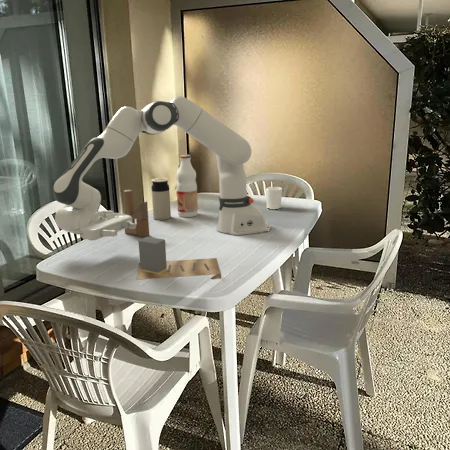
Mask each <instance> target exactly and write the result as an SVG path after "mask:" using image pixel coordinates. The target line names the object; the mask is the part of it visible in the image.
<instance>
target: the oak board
mask: <svg viewBox="0 0 450 450" xmlns="http://www.w3.org/2000/svg"><path fill="white" fill-rule="evenodd" d="M166 264H167V269H166V270H164V271H163V272H161V273H159V274H156V273H151V272H146V271H142V270H141V268H140V262H139V263H138V268H137V275H136V280H147V279H164V278H179V277H193V276H194V277H195V276H196V277H197V276H208V275H209V276H211V275H212V277H211V278H210V280H216V279H222V272H221V269H220V268H221V267H220V265H219V262H218V259H217V257H213V258H212V257H211V258H194V259H182V260H181V259H179V260H166Z"/></svg>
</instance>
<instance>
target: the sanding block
mask: <svg viewBox="0 0 450 450" xmlns="http://www.w3.org/2000/svg"><path fill="white" fill-rule="evenodd" d="M138 252H139V263H140V268H141V270H142V271H146V272H151V273H156V274H159V273H161V272H163V271H164V270H166V269H167V264H166V261H167V251H166V239H163V238H158V237H153V236H151V237H150V236H145V237H142V239H139V240H138Z"/></svg>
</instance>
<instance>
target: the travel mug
mask: <svg viewBox="0 0 450 450" xmlns="http://www.w3.org/2000/svg"><path fill="white" fill-rule="evenodd" d="M151 182H152V185H151V198H152V200H151V202H152V215H153V216H152V217H153V219H154V220H156V221H157V220H158V221H164V220H169V219H171V218H172V215H171V212H172V211H171V197H170V195H171V194H170V185H169V184H168V183H169V178H167V177H156V178H152V179H151Z"/></svg>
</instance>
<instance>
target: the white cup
mask: <svg viewBox="0 0 450 450" xmlns="http://www.w3.org/2000/svg"><path fill="white" fill-rule="evenodd" d="M282 197H283V188H282V187H279V186H268V187H266V188H265V203H266V209H267V208H270V209H276V208H280V207H281V208H282Z"/></svg>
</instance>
